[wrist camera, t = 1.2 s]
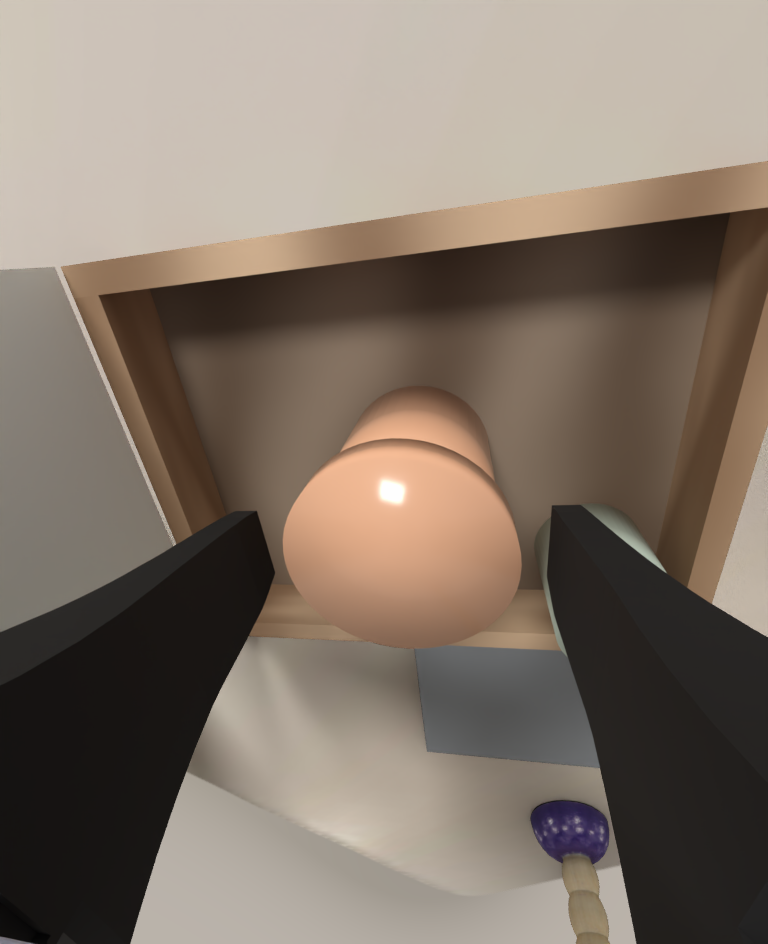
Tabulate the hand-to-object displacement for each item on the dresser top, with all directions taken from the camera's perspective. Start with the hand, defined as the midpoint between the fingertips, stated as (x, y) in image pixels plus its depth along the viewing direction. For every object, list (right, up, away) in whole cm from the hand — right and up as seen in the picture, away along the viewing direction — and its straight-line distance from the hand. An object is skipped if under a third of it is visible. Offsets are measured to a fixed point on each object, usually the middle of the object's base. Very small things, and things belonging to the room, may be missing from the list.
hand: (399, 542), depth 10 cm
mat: (+7, -9, +10) cm, 15 cm away
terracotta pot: (+1, +2, +4) cm, 5 cm away
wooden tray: (+1, +3, +5) cm, 6 cm away
